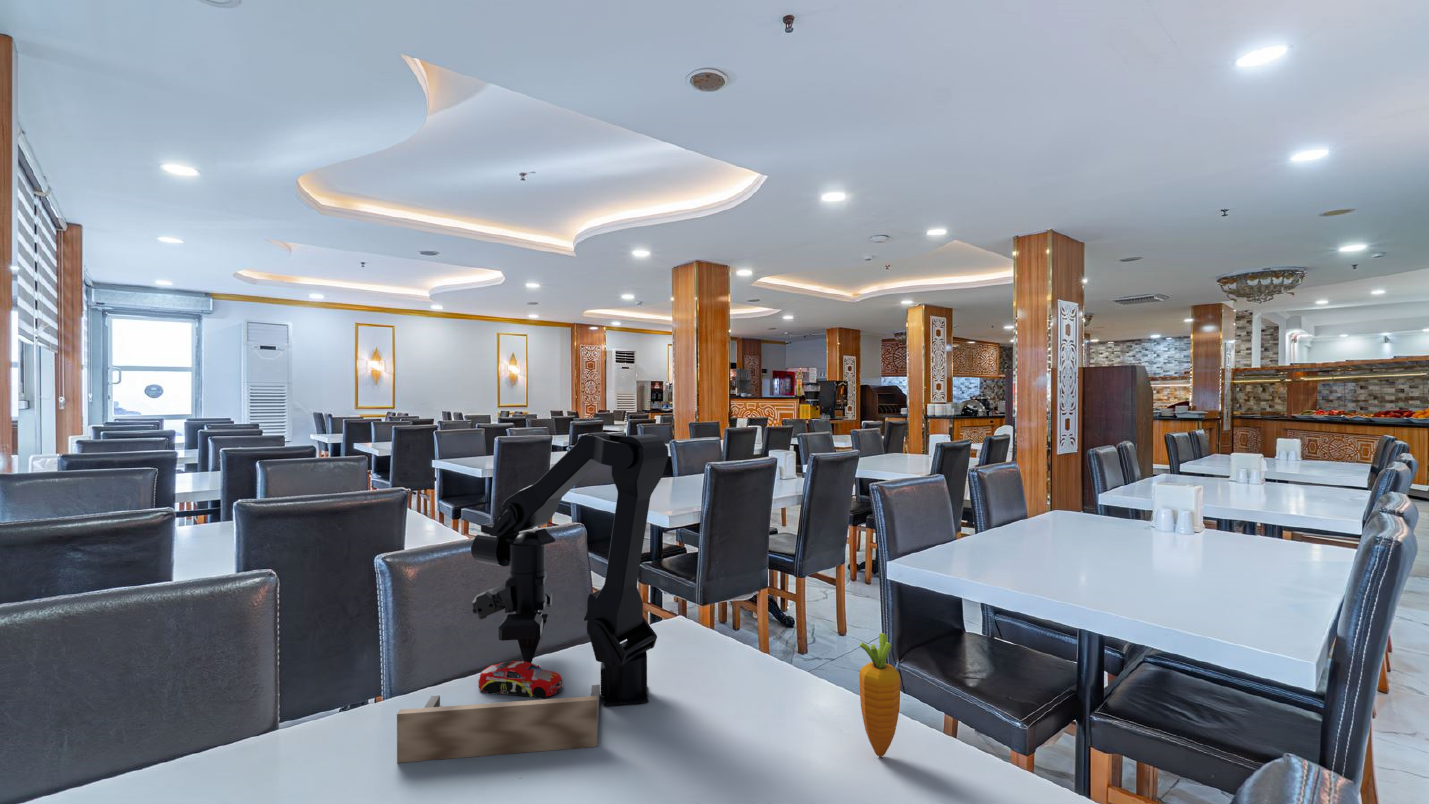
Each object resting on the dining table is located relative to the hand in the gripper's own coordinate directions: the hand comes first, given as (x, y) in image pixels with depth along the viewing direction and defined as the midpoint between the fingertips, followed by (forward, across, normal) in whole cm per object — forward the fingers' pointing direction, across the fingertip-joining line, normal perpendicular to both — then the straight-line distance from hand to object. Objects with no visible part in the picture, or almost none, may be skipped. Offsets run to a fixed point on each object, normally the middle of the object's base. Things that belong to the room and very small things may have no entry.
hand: (528, 663), depth 108 cm
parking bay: (+1, +19, 0) cm, 19 cm away
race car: (+2, +7, 0) cm, 8 cm away
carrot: (+1, +34, +47) cm, 58 cm away
